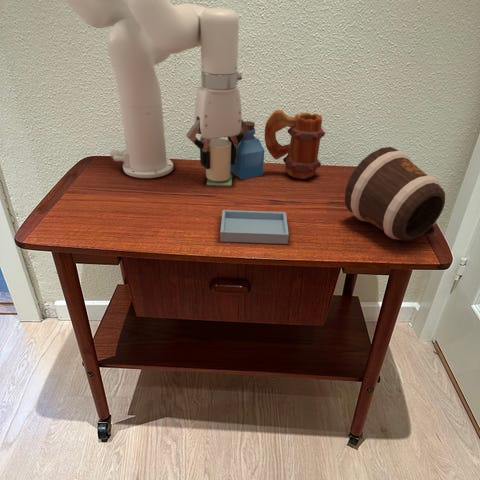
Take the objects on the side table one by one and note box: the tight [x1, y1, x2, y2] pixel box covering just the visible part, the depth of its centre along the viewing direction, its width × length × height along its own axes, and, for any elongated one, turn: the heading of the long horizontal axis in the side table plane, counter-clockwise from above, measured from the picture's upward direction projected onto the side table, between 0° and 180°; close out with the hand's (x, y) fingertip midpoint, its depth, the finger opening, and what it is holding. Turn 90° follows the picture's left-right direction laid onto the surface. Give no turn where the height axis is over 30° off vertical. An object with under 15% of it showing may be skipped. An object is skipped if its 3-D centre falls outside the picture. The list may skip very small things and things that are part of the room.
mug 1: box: [264, 109, 326, 180], centre depth 104 cm, size 15×8×15 cm, turn 84°
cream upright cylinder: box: [205, 138, 232, 181], centre depth 101 cm, size 6×6×8 cm
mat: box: [206, 174, 233, 187], centre depth 104 cm, size 6×6×1 cm
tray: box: [219, 209, 290, 245], centre depth 86 cm, size 13×9×2 cm
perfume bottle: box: [231, 120, 265, 180], centre depth 104 cm, size 6×6×12 cm
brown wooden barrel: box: [344, 146, 446, 242], centre depth 85 cm, size 20×15×15 cm
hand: (218, 164), depth 102 cm, fingers closed on cream upright cylinder, 6 cm apart
